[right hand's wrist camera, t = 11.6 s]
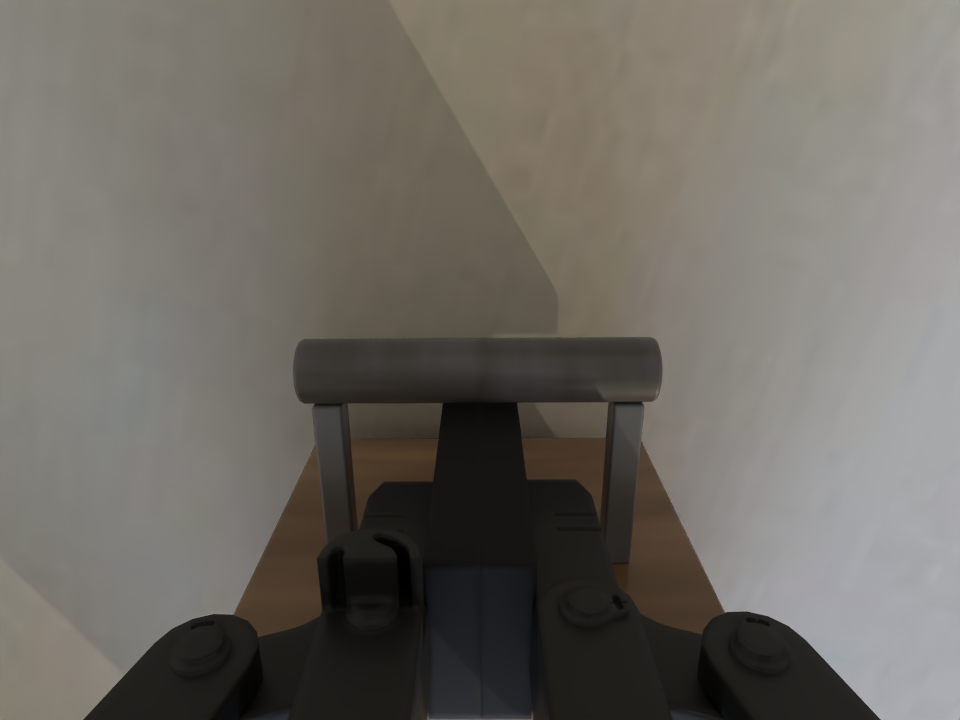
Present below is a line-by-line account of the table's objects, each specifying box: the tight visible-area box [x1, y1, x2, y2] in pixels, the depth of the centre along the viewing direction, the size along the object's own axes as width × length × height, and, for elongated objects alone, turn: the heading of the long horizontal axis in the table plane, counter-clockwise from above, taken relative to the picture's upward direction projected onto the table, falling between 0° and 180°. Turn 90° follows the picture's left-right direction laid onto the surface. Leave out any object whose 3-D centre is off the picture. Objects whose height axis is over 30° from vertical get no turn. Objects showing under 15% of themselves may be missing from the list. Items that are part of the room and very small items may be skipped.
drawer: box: [234, 337, 725, 720], centre depth 17 cm, size 22×10×10 cm, turn 0°
